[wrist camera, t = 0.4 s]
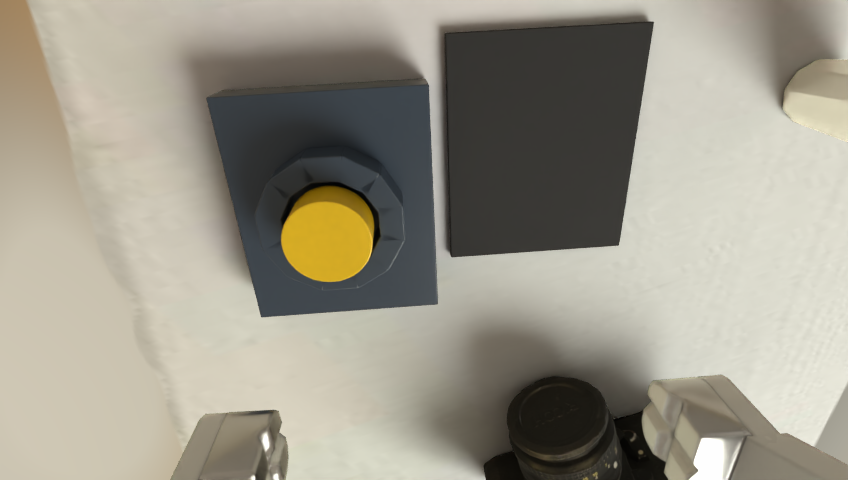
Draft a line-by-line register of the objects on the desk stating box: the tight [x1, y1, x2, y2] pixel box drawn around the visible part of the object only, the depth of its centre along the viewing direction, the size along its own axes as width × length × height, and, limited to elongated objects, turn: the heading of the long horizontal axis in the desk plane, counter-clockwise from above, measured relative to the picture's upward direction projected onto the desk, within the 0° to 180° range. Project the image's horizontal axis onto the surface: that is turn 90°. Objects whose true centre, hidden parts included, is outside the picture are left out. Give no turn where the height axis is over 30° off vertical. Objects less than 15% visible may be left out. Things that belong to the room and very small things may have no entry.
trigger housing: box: [207, 79, 438, 317], centre depth 23 cm, size 12×10×4 cm
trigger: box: [281, 186, 374, 282], centre depth 21 cm, size 4×4×2 cm
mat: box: [445, 22, 654, 257], centre depth 25 cm, size 12×10×1 cm
